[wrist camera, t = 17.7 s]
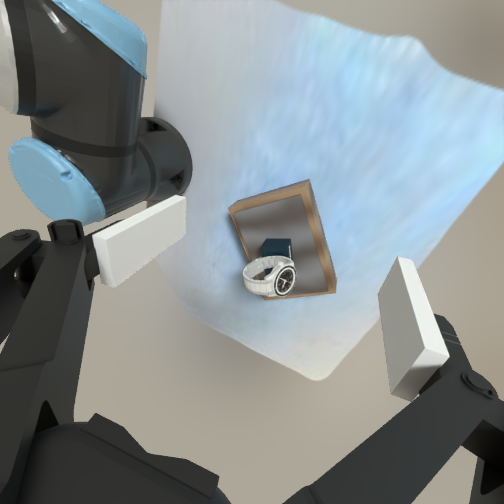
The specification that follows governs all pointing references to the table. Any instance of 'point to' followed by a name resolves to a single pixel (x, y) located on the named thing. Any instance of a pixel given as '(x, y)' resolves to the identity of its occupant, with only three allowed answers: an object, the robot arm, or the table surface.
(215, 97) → the table surface
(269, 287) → the watch
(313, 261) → the riser
